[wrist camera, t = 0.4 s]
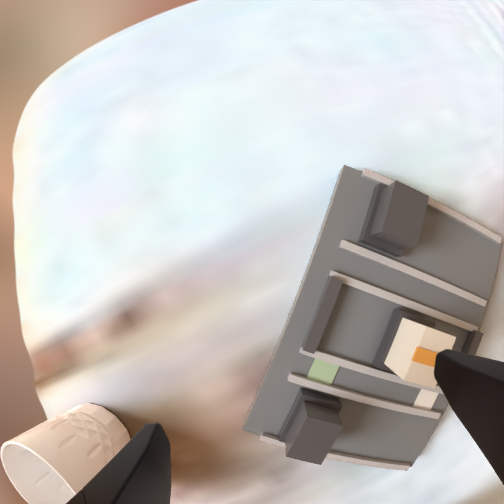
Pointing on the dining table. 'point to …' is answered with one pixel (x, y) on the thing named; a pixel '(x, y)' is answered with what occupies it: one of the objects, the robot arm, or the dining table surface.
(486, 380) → the robot arm
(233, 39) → the dining table surface
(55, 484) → the white cup
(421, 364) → the breaker
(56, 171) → the dining table surface
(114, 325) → the dining table surface
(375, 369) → the breaker panel
